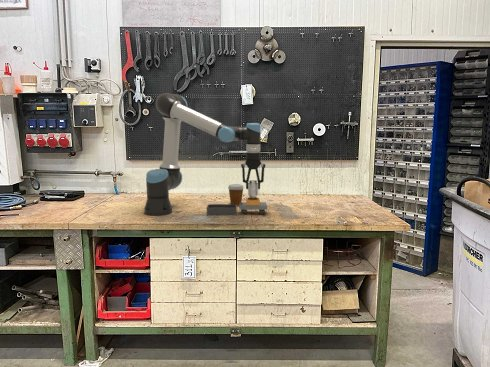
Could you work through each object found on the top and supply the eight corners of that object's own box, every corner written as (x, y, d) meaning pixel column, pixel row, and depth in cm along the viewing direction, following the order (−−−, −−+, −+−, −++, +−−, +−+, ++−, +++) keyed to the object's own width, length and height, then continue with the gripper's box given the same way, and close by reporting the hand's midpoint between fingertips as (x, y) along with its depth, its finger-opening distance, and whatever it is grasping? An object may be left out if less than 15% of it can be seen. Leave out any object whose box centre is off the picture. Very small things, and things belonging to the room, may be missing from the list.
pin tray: (206, 215, 201) (206, 207, 201) (207, 211, 210) (207, 204, 210) (236, 215, 202) (236, 207, 201) (236, 211, 211) (236, 204, 210)
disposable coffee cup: (231, 207, 221) (231, 187, 219) (225, 204, 229) (225, 184, 227) (246, 206, 224) (246, 186, 222) (240, 202, 233) (240, 183, 231)
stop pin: (249, 204, 204) (249, 181, 202) (249, 203, 208) (249, 180, 206) (256, 204, 204) (257, 181, 202) (256, 203, 208) (256, 180, 206)
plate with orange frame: (239, 215, 202) (239, 200, 201) (239, 211, 211) (239, 197, 210) (267, 214, 203) (267, 200, 201) (265, 211, 212) (265, 197, 210)
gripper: (237, 152, 197) (237, 196, 201) (269, 152, 198) (269, 196, 202) (237, 151, 205) (237, 193, 209) (268, 151, 206) (267, 193, 209)
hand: (252, 194), depth 205 cm, fingers closed on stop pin, 4 cm apart
